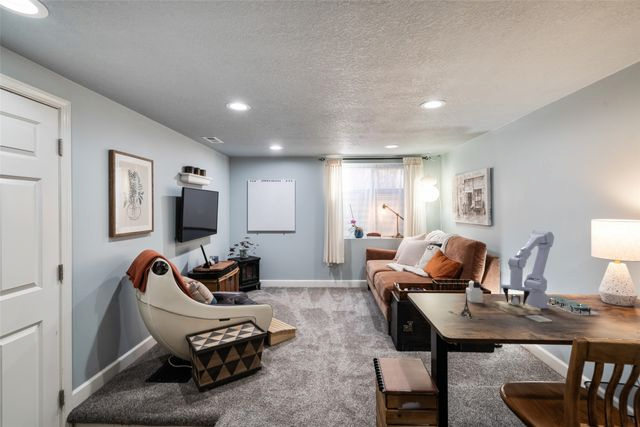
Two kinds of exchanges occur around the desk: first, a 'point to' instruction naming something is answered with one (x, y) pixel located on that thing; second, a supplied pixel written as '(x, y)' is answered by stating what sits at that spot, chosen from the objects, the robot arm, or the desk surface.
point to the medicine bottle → (474, 292)
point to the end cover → (515, 300)
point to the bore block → (516, 308)
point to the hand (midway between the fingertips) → (515, 303)
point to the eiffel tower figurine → (464, 311)
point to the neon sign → (573, 307)
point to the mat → (538, 318)
